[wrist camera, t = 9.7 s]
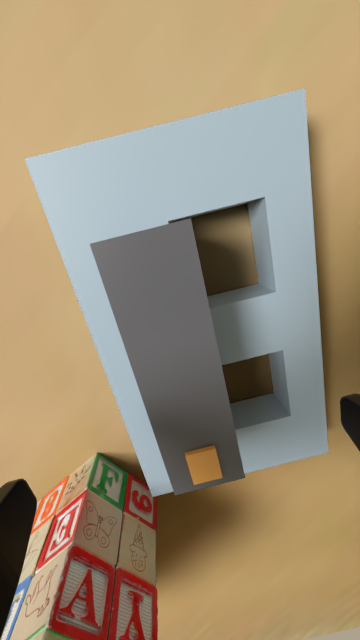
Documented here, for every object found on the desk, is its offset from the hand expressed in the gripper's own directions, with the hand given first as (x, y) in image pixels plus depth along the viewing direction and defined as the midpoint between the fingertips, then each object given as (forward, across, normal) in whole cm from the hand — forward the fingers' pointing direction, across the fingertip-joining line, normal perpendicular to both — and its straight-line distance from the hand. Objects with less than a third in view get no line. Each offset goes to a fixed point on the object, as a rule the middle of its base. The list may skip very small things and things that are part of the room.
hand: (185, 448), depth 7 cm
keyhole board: (+10, -2, 0) cm, 10 cm away
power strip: (+9, 0, 0) cm, 9 cm away
